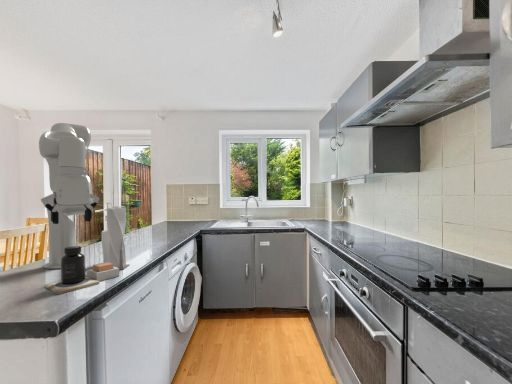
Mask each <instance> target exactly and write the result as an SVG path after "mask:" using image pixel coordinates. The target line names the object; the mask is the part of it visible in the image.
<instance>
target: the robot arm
mask: <svg viewBox="0 0 512 384" xmlns="http://www.w3.org/2000/svg"><path fill="white" fill-rule="evenodd" d="M91 141H92V134H91V130H90V129H89V128H88V127H87V126H86V125H81V124H74V123H67V122H66V123H64V122H57V123H54V124H53V125H52V126H51V128H50V131H47V132H43V133H42V134H41V135H40V137H39V139H38V149H39V151H38V152H39V154H40V156H41V157H42V158H43V159H45V161H46V162H47V165H48V174H49V175H48V176H49V178H48V179H49V180H48V181H49V187H50V191H51V192H52V193H50V194H48V195H47V196H44V197H42V198H41V199H40V201H41V203H42V204H43V206H44V208H46V213H47V218H48V219H47V220H48V262H47V263H45V264H44V269H48V270H57V269H61V258H62V257H63V256H65V254H64V249H65V248H66V247H72V246H76V225H75V223H74V221H73V220H72V219H70V218H69V217H70V216H84V221H85V222H91V220H92V218H93V217H92V216H93V215H92V214H93V210H94V208H95V207H96V206H97V205H98V203H99V202H100V200H101V199H100V197H99V196H97V195H95V194H93V187H92V180H91V178H90V176H89V174H90V171H89V170H87V169H86V158H87V157H88V152H89V151H88V150H89V147H90V144H91Z"/></svg>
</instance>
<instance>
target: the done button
mask: <svg viewBox="0 0 512 384" xmlns="http://www.w3.org/2000/svg"><path fill="white" fill-rule="evenodd" d="M92 269H93V270H94V271H97V272H102V271H106V270H111V269H113V264H112V263H109V262H100V263H97V264H96V263H95V264H92Z"/></svg>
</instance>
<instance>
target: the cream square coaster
mask: <svg viewBox="0 0 512 384" xmlns="http://www.w3.org/2000/svg"><path fill="white" fill-rule="evenodd" d="M44 285H45V286H44V287H45V288H46V289H48V290H50V291H51V292H53V293H55V294H57V295H61V294H64V293H65V294H66V293H69V292H73V291H74V292H75V291H77V290H81V289H84V288H85V289H86V288H88V287H93V286H96V285H100V281H97V280H94V279H92V278H89V277H87V275H85V280H84V281H82V282H79V283H76V284H69V285H64V284H62V283H61V280H59V281H55V282H51V283H46V284H44Z"/></svg>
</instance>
